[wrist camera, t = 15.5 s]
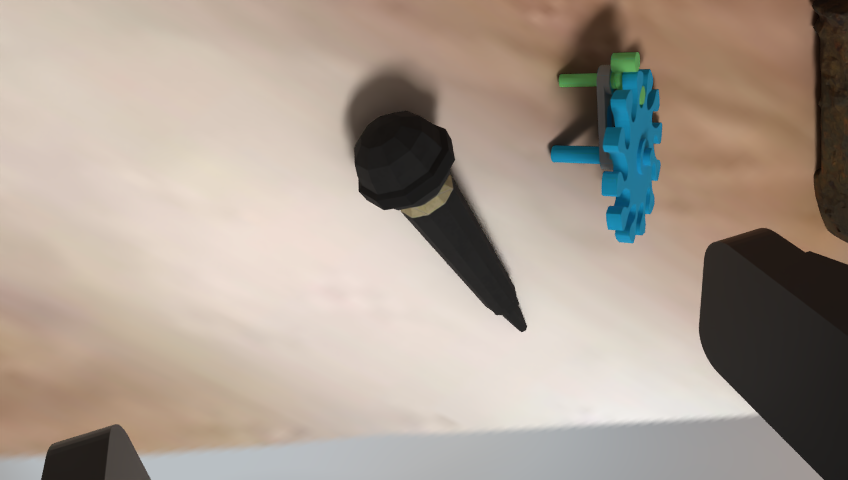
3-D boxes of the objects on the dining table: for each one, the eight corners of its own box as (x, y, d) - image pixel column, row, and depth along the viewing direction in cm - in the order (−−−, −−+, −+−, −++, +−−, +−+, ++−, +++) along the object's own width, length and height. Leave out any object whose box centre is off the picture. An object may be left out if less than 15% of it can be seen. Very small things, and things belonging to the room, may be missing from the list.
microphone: (520, 283, 53) (384, 81, 40) (578, 317, 49) (447, 103, 36) (471, 338, 52) (315, 149, 39) (525, 378, 48) (371, 181, 35)
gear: (671, 204, 47) (631, 273, 39) (583, 199, 50) (529, 262, 42) (671, 31, 43) (626, 71, 35) (574, 36, 46) (513, 74, 38)
